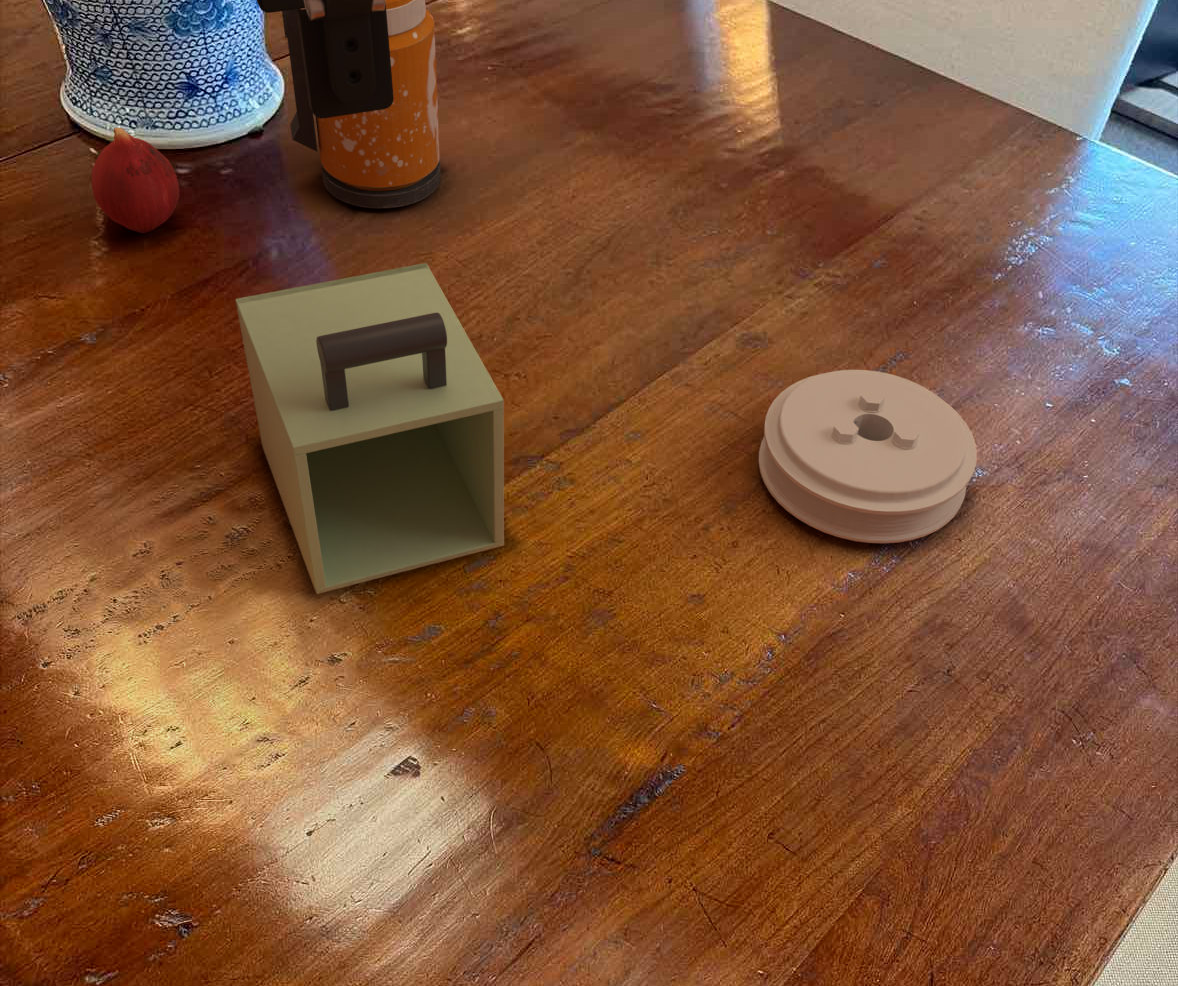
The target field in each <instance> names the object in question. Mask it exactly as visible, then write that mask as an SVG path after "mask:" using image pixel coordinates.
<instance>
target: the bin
mask: <svg viewBox="0 0 1178 986" xmlns="http://www.w3.org/2000/svg"><path fill="white" fill-rule="evenodd" d="M235 306H236V311H237V316H238V322H239V327H240V332H241V333H240V334H241V338H242V343H243V344H242V345H243V349H244V354H245V360H246V365H247V372H248V376H249V381H250V387H251V393H252V397H253V403H254V409H255V415H256V419H257V425H258V430H259V436H260V442H261V447H262V450H263V452H264V455H265V458H266V460H267V463H268V466H269V469H270V471H271V474H272V477H273V479H274V482H275V485H276V489H277V490H278V493H279V496H280V499H281V501H282V504H283V507H284V509H285V512H286V515H287V518H288V520H289V523H290V526H291V529H292V532H293V534H294V537H295V540H296V542H297V545H298V548H299V550H300V553H301V556H302V558H303V561H304V564H305V566H306V569H307V572H308V575H309V578H310V581H311V583H312V587H313V589H314V591H315V594H316V595H318V594H323V593H326V592H330V591H335V590H338V589H342V588H345V587H350V586H353V585H356V584H361V583H364V582H365V583H366V582H369V581H372V580H377V579H381V578H384V577H388V576H392V575H395V574H399V573H403V572H408V571H411V570H414V569H415V570H416V569H419V568H423V567H426V566H430V565H434V564H438V563H442V562H446V561H450V560H453V559H457V558H461V557H465V556H470V555H473V554H476V553H480V552H484V551H488V550H492V549H495V548H500V547H503V546H504V545H505V438H504V437H505V409H504V407H505V400H504V398H503V396H502V394H501V393H500V391H499V389H498V387H497V386H496V384H495V382H494V380H493V379H492V376H491V375H490V373H489V371H488V369H487V367H486V366H485V364H484V363H483V360H482V359H481V357H480V355H479V354H478V352H477V350H476V349H475V346H474V345H473V343H472V341H471V339H470V338H469V336H468V334H467V333H466V331H465V329H464V327H463V325H462V324H461V322H460V320H459V318H458V316H457V315H456V313H455V311H454V309H453V307H452V306H451V303H450V302H449V301H448V299H447V296H446V295H445V294H444V292H443V290H442V288H441V286H440V284H439V282H438V281H437V279H436V277H435V276H434V274H433V272H432V270H431V268H430V267H429V264H428V263H427V262H423V263H419V264H414V265H408V266H403V267H397V268H392V269H387V270H382V271H376V272H371V273H366V274H361V275H355V276H350V277H349V276H348V277H346V278H340V279H333V280H328V281H324V282H318V283H312V284H308V285H302V286H297V287H292V288H286V289H281V290H276V291H270V292H266V293H260V294H255V295H249V296H244V297H239V298H235Z"/></svg>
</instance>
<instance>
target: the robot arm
mask: <svg viewBox="0 0 1178 986" xmlns="http://www.w3.org/2000/svg"><path fill="white" fill-rule="evenodd" d="M256 3H257V6H259V9H260V10H261V11H262V12H264V13H266V14H271V13H277V12H282V11H287V10H295V9H300V10H297V16H298V24H299V31H300V39H301V46H302V54H303V61H304V69H305V76H306V84H307V91H308V99H309V105H310V108H311V110H312V112H313V116H314V117H315V118H316V117H317V118H321V119H324V118H330V117H337V116H343V115H350V114H356V113H363V112H369V111H376V110H382V109H387V108H389V107H390V106H391V105H392V103H393V100H394V96H393V84H392V72H391V60H390V48H389V36H388V24H387V12H386V4H385V0H256Z"/></svg>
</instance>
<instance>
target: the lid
mask: <svg viewBox="0 0 1178 986" xmlns="http://www.w3.org/2000/svg"><path fill="white" fill-rule="evenodd" d="M977 459H978V449H977V444H976V440H975V438H974V435H973V432H972V431H971V429H970V427H969V426H968V424H967V423H966V422H965V420H964V419H963V417H962V416H961V415H960V414H959V413H958V412H957V411H956V410H955V409H954V408H953V407H952V406H951V405H950V404H949V403H947V402H946V401H945V400H943V399H942V398H941V397H940V396H938V395H937V394H935V393H934V392H933V391H931V390H930V389H927V388H926V387H924V386H922V385H921V384H919V383H916V382H915V381H912V380H909V379H907V378H905V377H902V376H898V375H895V374H891V373H888V372H883V371H877V370H870V369H869V370H867V369H840V370H834V371H828V372H824V373H823V372H822V373H820V374H815V375H811V376H808V377H806V378H803V379H800V380H798V381H796V382H794V383H793V384H791V385H789V386H788V387H786V388H785V389H784V390H783V391H781V392H780V393H779V394H778V396H776V397H775V398H774V399H773V401H772V403H771V404H770V405H769V407H768V410H767V413H766V415H765V420H764V424H763V437H762V440H761V442H760V446H759V450H758V468H759V473H760V476H761V478H762V481H763V484H764V485H765V487H766V488H767V490H768V492H769V493H770V495H771V496H772V497H773V498H774V499H775V501H776V502H777V503H778V504H779V505H780V506H781V507H782V508H784V510H786V511H787V512H788V513H789V514H791V516H793V517H795V519H798V520H799V521H801V522H802V523H804V524H805V525H808V526H809V527H812V528H814V529H816V530H818V531H820V532H822V533H825V534H828V535H831V536H834V537H837V538H841V539H845V540H849V541H853V542H861V543H867V544H894V543H895V544H896V543H903V542H909V541H913V540H917V539H921V538H923V537H926V536H928V535H930V534H932V533H933V534H934V532H937V531H939V530H940V529H941V528H943V527H945V526H946V525H947V524H948V523H950V521H951V520H953V519H954V517H955V516H956V515H957V513H958V512H959V510H960V509H961V507H962V506H963V502H964V500H965V497H966V492H967V486H968V484H969V483H970V481H971V479H972V477H973V475H974V472H975V469H976V466H977Z"/></svg>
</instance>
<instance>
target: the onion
mask: <svg viewBox="0 0 1178 986" xmlns="http://www.w3.org/2000/svg"><path fill="white" fill-rule="evenodd" d="M91 188H92V194H93V198H94V200H95V202H96V204H97V207H98V208H99V209H100V210H101V211H102V212H103V213H104V214H105V215H106V216H107V217H108V218H109V219H111V220H112V221H113V222H114V223H116V224H118V225H121V226H123V227H125V228H126V229H128V230H129V231H130V230H131V231H133V232H137V233H139V234H147V233H150V232H152V231H154V230H155V229H157V228H158V227H160V226H161V225H162V224H164V223H165V222H167V221H168V220H169V219H170V217H171V216H172V215H173V213H174V211H175V210H176V207H177V204H178V202H179V200H180V197H181V196H180V183H179V180H178V177H177V174H176V171H175V168H174V167H173V165H172V164H171V162H170V161H169V159H168V158H167V157H166V156H165V155H163V153H161V152H160V150H158V149H157V148H156V147H155V146H153V145H152V144H151V143H149V142H147V141H146V140H143V139H141V138H137V137H134V136H132V135H131V134H130V133H128V132H127V131H126V130H125V129H124V128H122V127H114V129H113V140H112V141H111V142H110V143H108V145H107V146H105V147H104V148H103V149H102V150H101V152H100V153H99V155H98V156H97V157H96V160H95V161H94V164H93V166H92V169H91Z"/></svg>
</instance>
